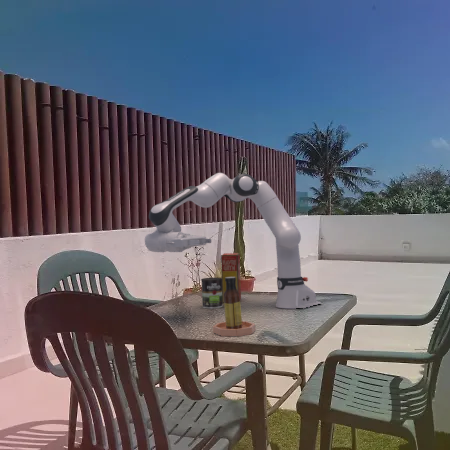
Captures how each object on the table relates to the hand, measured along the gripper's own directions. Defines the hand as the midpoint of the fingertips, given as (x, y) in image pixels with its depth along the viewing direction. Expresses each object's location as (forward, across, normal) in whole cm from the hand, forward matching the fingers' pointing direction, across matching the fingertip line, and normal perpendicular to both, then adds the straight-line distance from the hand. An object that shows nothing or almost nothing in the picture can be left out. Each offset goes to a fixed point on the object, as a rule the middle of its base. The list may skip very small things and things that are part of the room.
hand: (205, 241), depth 205 cm
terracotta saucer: (+19, -14, +34) cm, 41 cm away
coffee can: (-15, +32, +34) cm, 49 cm away
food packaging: (-13, +50, +34) cm, 62 cm away
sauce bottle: (+19, -14, +33) cm, 40 cm away
